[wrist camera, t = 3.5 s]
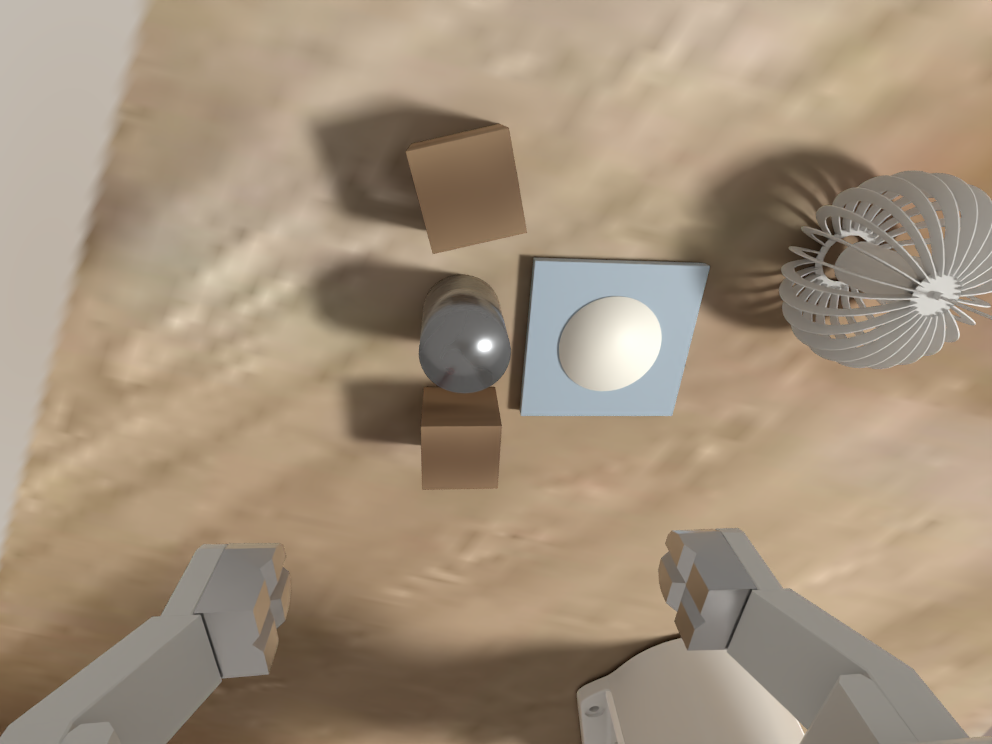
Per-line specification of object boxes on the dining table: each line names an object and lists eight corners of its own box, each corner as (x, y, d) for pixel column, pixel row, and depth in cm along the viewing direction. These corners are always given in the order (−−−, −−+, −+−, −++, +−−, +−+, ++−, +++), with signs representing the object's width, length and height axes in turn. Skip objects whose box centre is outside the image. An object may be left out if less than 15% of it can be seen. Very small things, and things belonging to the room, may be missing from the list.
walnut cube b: (515, 213, 25) (526, 232, 21) (434, 231, 25) (432, 253, 21) (498, 123, 23) (508, 128, 19) (411, 143, 23) (405, 151, 20)
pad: (668, 410, 31) (672, 416, 30) (519, 410, 30) (521, 416, 29) (704, 263, 27) (710, 266, 26) (533, 257, 26) (535, 261, 25)
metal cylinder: (497, 347, 28) (507, 393, 24) (423, 346, 28) (419, 393, 23) (502, 275, 26) (514, 311, 22) (422, 273, 26) (418, 309, 21)
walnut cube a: (491, 444, 31) (497, 488, 28) (424, 444, 31) (422, 489, 27) (495, 386, 29) (501, 426, 26) (423, 386, 29) (420, 426, 25)
